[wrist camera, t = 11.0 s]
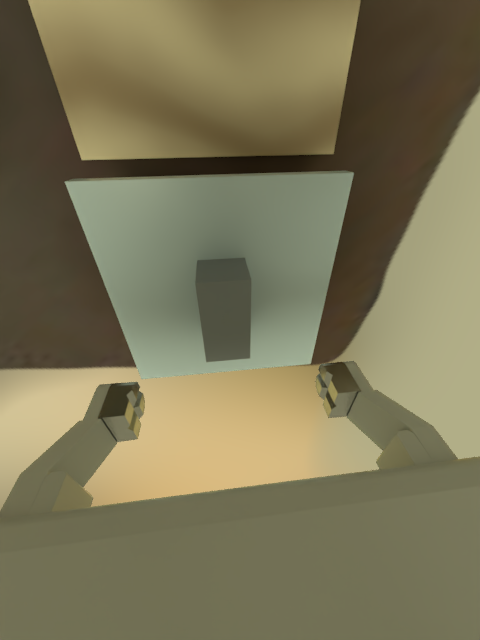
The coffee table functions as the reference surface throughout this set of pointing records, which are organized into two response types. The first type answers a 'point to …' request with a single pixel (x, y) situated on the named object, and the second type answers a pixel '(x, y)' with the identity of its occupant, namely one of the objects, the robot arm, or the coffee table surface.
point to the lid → (215, 264)
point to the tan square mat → (199, 74)
